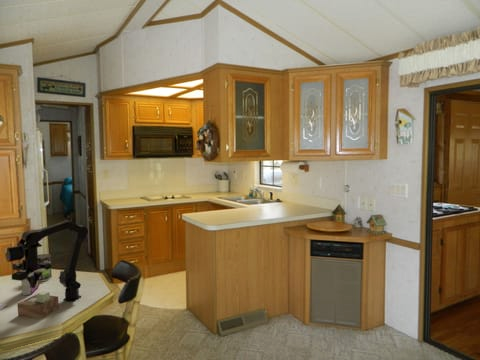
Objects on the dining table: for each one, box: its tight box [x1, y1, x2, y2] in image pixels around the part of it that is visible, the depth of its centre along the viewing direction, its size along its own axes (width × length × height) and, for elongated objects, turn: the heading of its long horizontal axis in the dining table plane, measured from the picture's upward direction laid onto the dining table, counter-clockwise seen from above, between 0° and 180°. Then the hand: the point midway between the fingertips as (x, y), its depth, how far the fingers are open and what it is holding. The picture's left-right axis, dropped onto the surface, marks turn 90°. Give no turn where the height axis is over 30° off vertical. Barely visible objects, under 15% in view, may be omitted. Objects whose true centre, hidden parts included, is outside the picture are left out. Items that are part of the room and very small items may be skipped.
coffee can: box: [38, 253, 53, 283], centre depth 230 cm, size 10×10×14 cm
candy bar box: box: [19, 269, 40, 296], centre depth 210 cm, size 11×5×16 cm, turn 9°
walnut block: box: [17, 294, 60, 320], centre depth 185 cm, size 12×13×6 cm
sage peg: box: [35, 290, 51, 303], centre depth 183 cm, size 4×4×6 cm
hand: (33, 287), depth 184 cm, fingers closed
